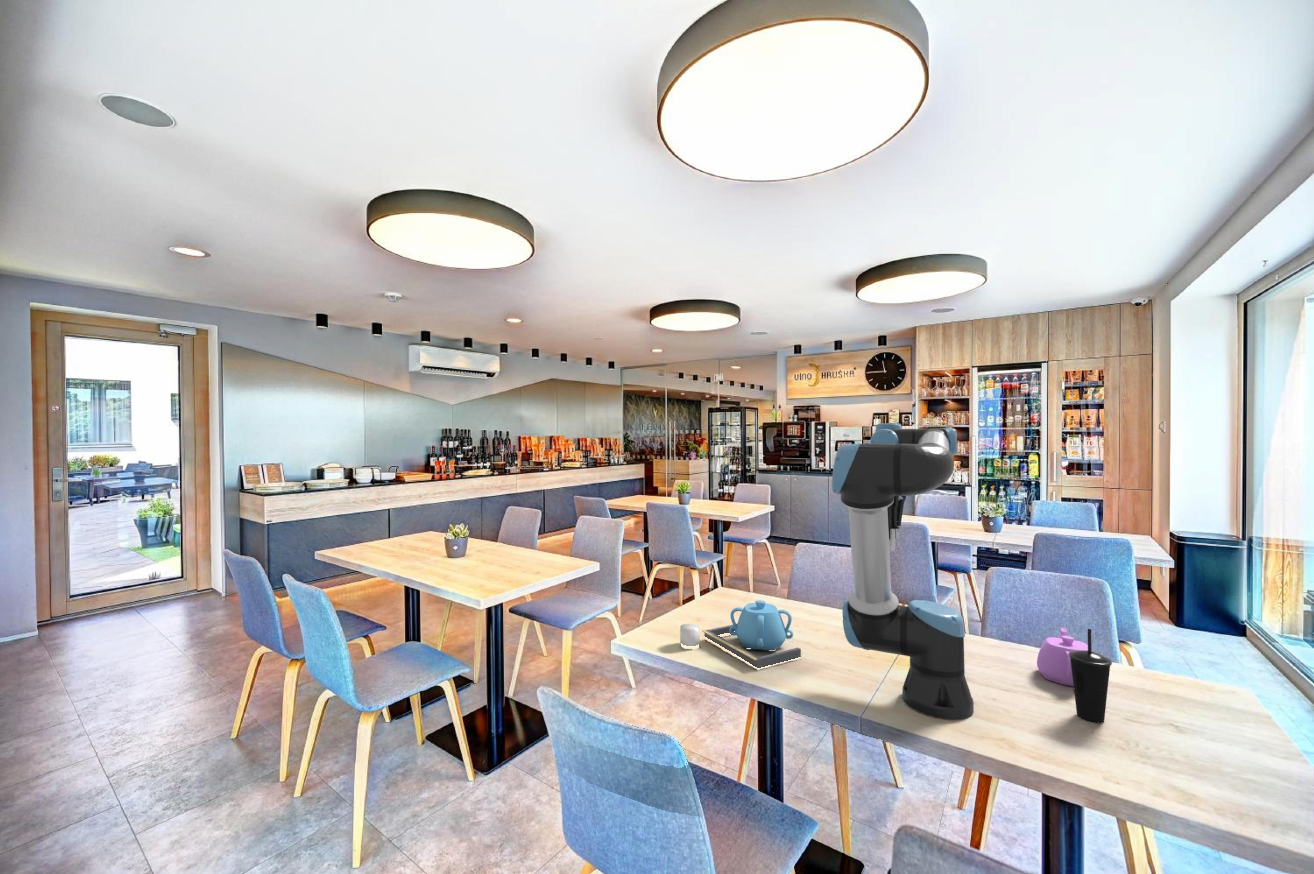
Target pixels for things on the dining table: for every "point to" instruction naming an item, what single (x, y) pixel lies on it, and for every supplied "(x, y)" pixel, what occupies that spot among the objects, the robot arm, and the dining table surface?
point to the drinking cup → (1090, 682)
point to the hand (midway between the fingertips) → (889, 549)
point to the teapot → (1058, 658)
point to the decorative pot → (761, 626)
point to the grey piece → (747, 656)
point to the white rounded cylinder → (690, 634)
